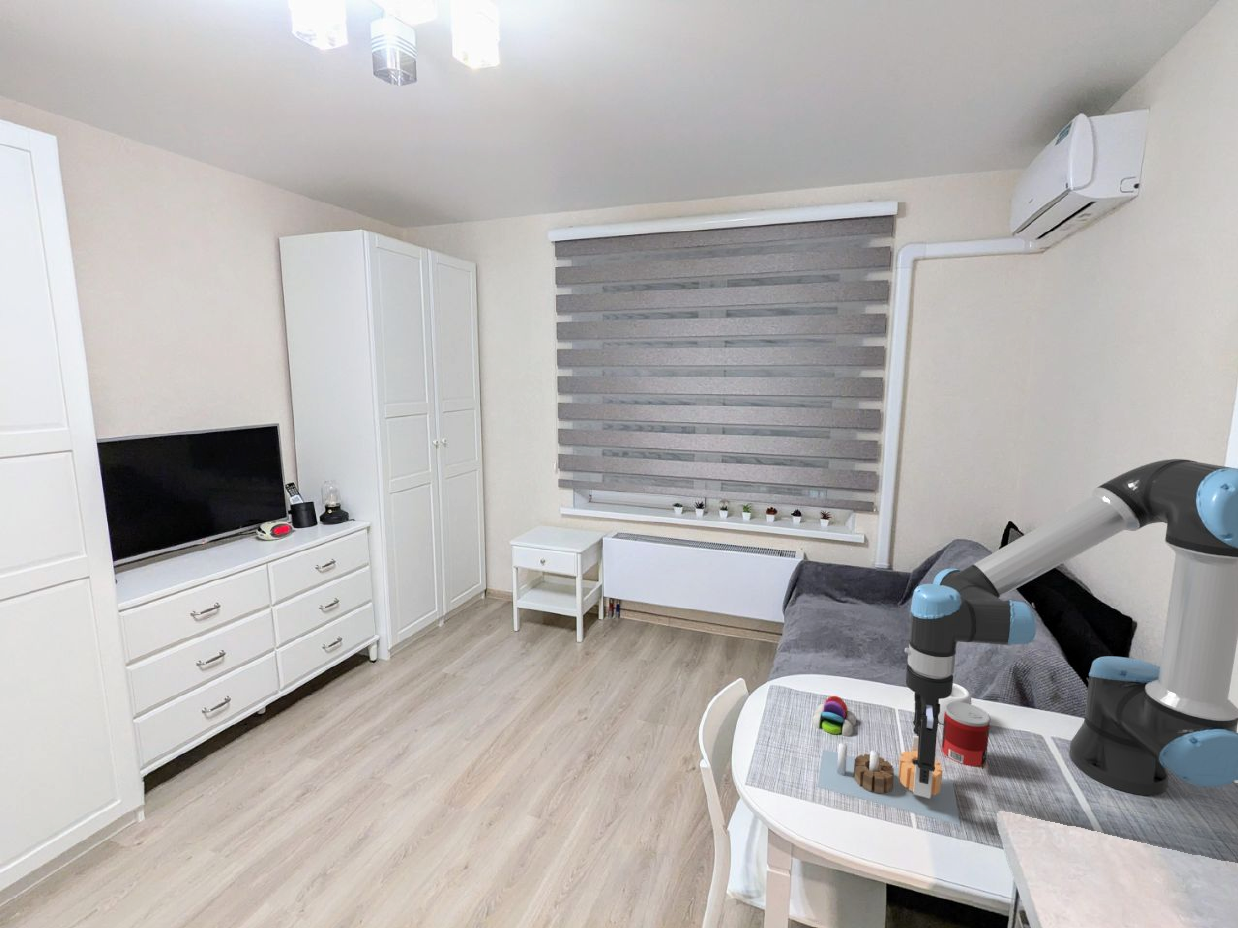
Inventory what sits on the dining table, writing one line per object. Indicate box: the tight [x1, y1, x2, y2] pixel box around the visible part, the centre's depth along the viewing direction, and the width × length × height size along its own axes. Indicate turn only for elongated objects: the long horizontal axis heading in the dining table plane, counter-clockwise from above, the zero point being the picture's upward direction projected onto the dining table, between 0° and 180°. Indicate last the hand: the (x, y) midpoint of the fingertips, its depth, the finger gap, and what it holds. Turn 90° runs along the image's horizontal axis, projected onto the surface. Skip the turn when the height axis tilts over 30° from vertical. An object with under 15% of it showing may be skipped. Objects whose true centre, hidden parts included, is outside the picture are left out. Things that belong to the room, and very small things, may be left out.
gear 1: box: [854, 753, 894, 793], centre depth 112 cm, size 7×7×3 cm
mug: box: [938, 682, 973, 726], centre depth 134 cm, size 12×8×8 cm
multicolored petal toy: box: [811, 695, 857, 737], centre depth 130 cm, size 8×10×7 cm
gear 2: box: [898, 750, 943, 796], centre depth 108 cm, size 7×7×4 cm
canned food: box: [941, 702, 991, 770], centre depth 119 cm, size 8×8×11 cm
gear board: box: [817, 742, 962, 826], centre depth 111 cm, size 24×12×8 cm, turn 66°
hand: (920, 780), depth 108 cm, fingers closed on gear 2, 7 cm apart
